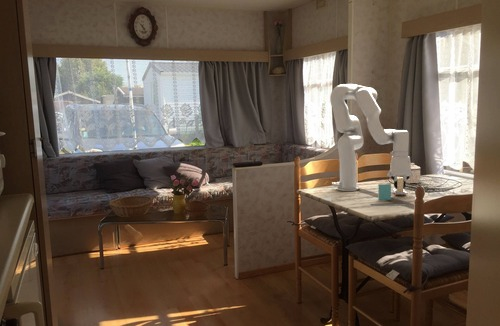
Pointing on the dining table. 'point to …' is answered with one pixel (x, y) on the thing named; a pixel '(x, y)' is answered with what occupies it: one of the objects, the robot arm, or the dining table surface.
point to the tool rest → (401, 194)
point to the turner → (399, 186)
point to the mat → (387, 204)
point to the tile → (384, 191)
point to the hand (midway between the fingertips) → (399, 188)
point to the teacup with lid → (414, 174)
